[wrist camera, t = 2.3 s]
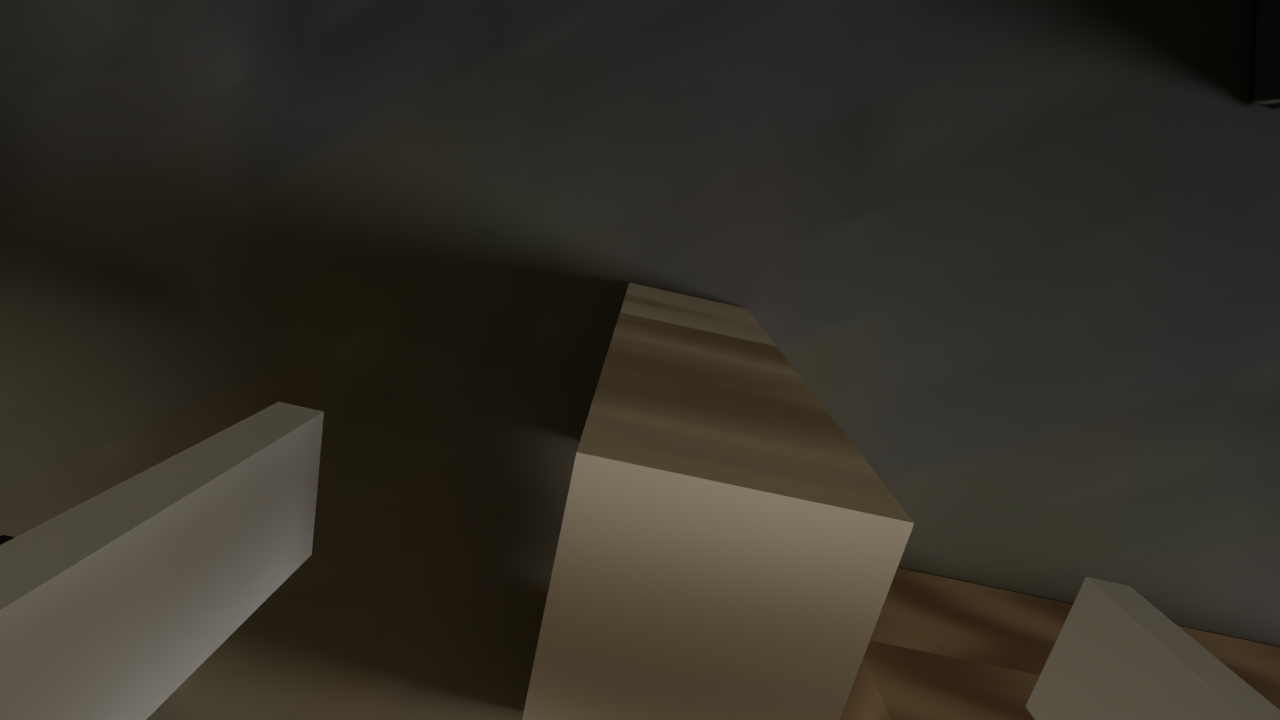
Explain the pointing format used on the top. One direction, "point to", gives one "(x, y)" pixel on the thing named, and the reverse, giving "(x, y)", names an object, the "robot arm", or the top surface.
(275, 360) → the top surface
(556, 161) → the top surface
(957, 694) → the oak board
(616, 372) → the beige wooden slab
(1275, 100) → the small box
